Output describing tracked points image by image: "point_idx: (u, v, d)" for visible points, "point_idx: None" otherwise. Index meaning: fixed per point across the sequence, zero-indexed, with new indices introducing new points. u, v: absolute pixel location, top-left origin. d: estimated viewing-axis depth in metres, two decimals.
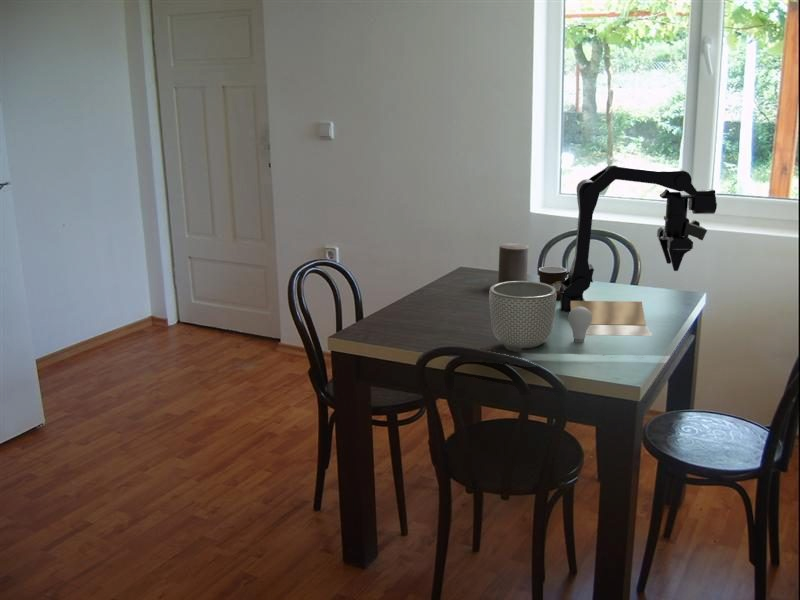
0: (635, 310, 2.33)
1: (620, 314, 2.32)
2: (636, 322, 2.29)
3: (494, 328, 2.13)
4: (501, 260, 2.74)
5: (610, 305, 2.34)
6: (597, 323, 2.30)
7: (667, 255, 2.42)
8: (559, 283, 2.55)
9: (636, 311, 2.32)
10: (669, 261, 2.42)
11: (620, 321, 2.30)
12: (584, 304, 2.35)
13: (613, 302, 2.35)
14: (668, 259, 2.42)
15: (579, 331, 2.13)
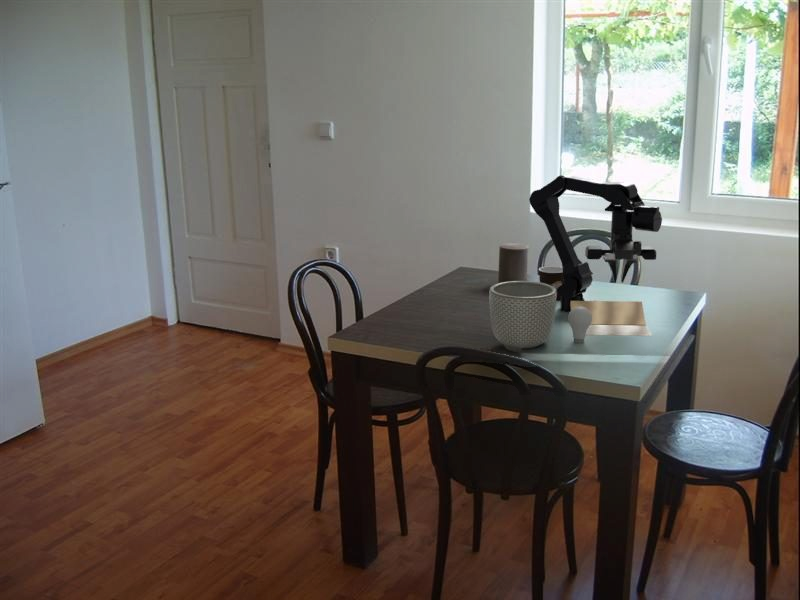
0: (635, 310, 2.33)
1: (620, 314, 2.32)
2: (636, 322, 2.29)
3: (494, 328, 2.13)
4: (501, 260, 2.74)
5: (610, 305, 2.34)
6: (597, 323, 2.30)
7: (621, 273, 2.33)
8: (559, 283, 2.55)
9: (636, 311, 2.32)
10: (621, 280, 2.32)
11: (620, 321, 2.30)
12: (584, 304, 2.35)
13: (613, 302, 2.35)
14: (621, 277, 2.33)
15: (579, 331, 2.13)
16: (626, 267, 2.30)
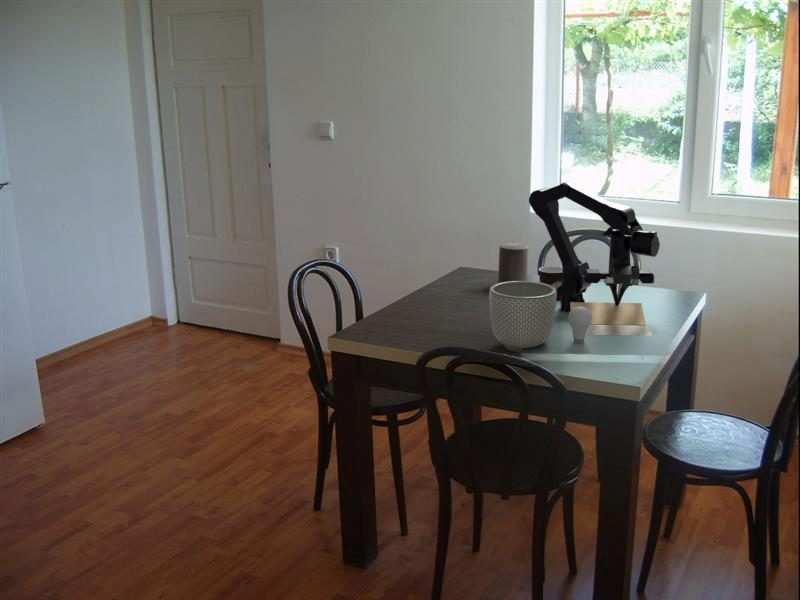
0: (634, 311, 2.33)
1: (620, 315, 2.32)
2: (636, 323, 2.29)
3: (494, 328, 2.13)
4: (501, 260, 2.74)
5: (610, 306, 2.35)
6: (597, 323, 2.30)
7: (617, 296, 2.35)
8: (559, 283, 2.55)
9: (635, 312, 2.32)
10: None
11: (620, 321, 2.30)
12: (584, 305, 2.36)
13: (613, 303, 2.36)
14: None
15: (579, 331, 2.13)
16: (622, 291, 2.32)
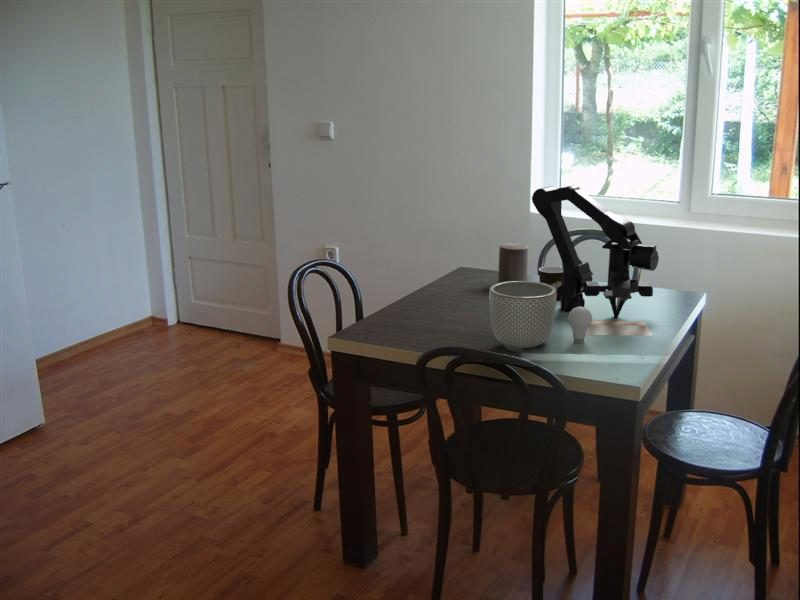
0: None
1: (619, 321, 2.33)
2: (635, 324, 2.29)
3: (494, 328, 2.13)
4: (501, 260, 2.74)
5: None
6: (597, 324, 2.30)
7: (616, 308, 2.36)
8: (559, 283, 2.55)
9: None
10: None
11: (620, 323, 2.30)
12: None
13: None
14: None
15: (579, 331, 2.13)
16: (621, 303, 2.34)
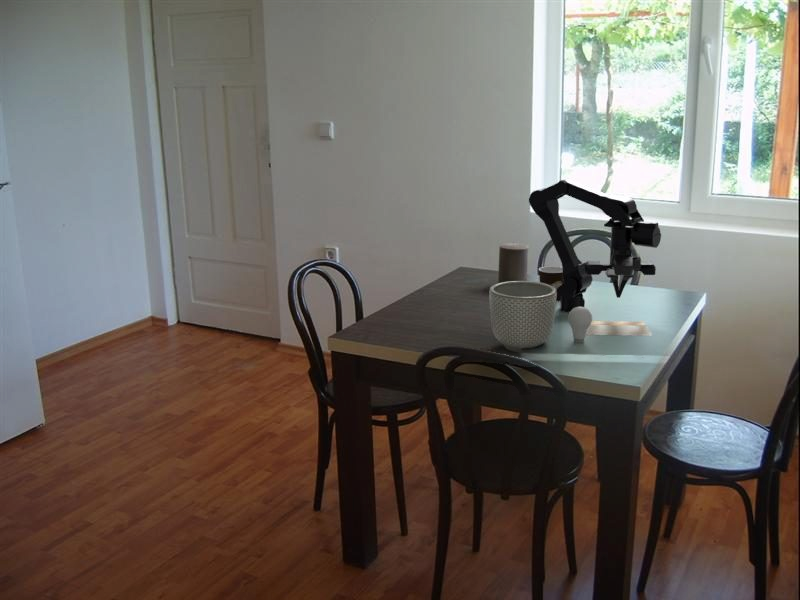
0: None
1: None
2: (635, 324, 2.29)
3: (494, 328, 2.13)
4: (501, 260, 2.74)
5: None
6: (597, 324, 2.30)
7: None
8: (559, 283, 2.55)
9: None
10: None
11: (620, 323, 2.30)
12: None
13: None
14: None
15: (579, 331, 2.13)
16: (623, 282, 2.31)
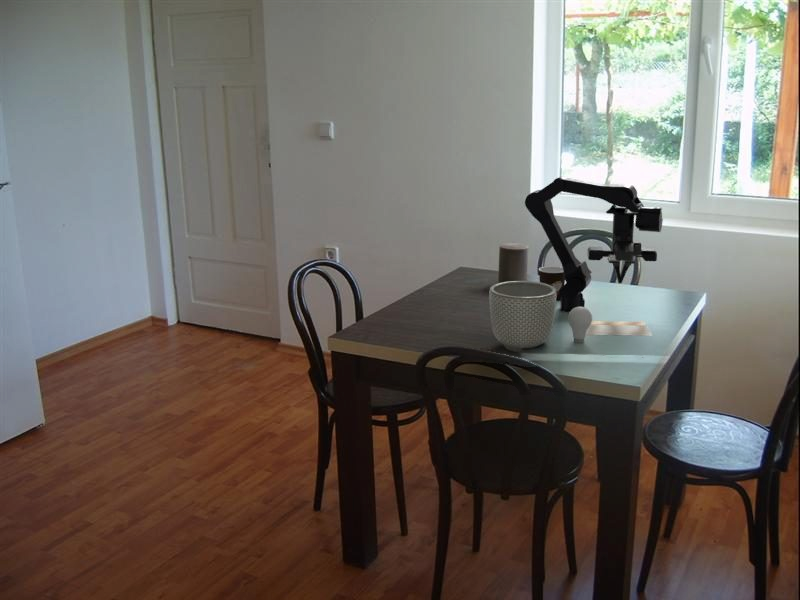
0: None
1: None
2: (635, 324, 2.29)
3: (494, 328, 2.13)
4: (501, 260, 2.74)
5: None
6: (597, 324, 2.30)
7: (620, 274, 2.36)
8: (559, 283, 2.55)
9: None
10: None
11: (620, 323, 2.30)
12: None
13: None
14: None
15: (579, 331, 2.13)
16: (625, 268, 2.33)
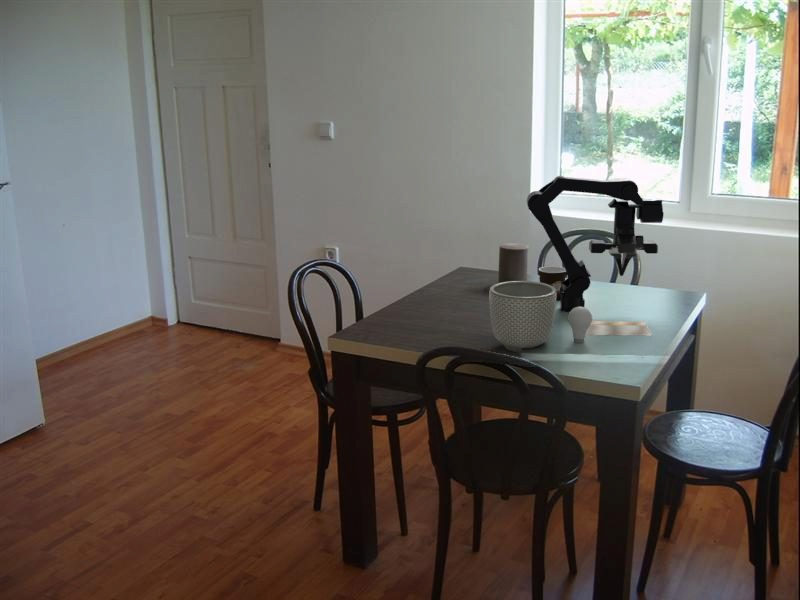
0: None
1: None
2: (635, 324, 2.29)
3: (494, 328, 2.13)
4: (501, 260, 2.74)
5: None
6: (597, 324, 2.30)
7: None
8: (559, 283, 2.55)
9: None
10: None
11: (620, 323, 2.30)
12: None
13: None
14: None
15: (579, 331, 2.13)
16: (626, 261, 2.38)
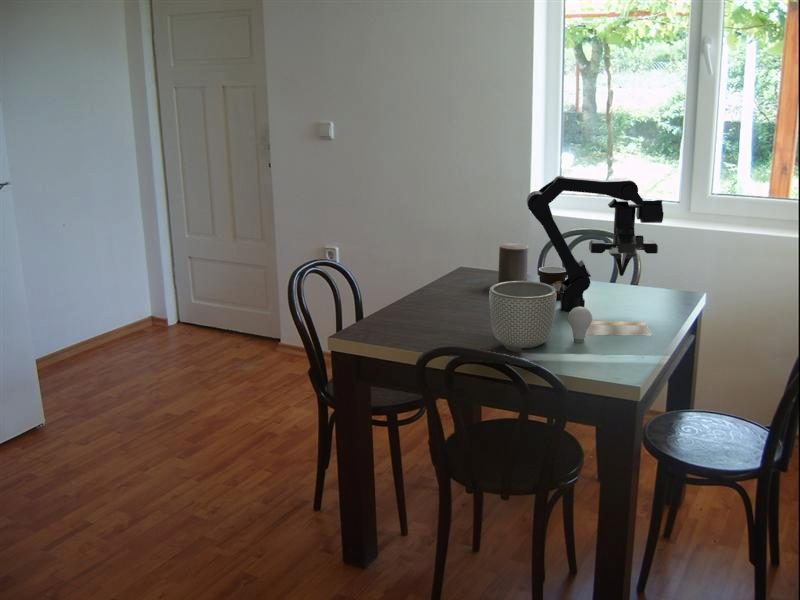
0: None
1: None
2: (635, 324, 2.29)
3: (494, 328, 2.13)
4: (501, 260, 2.74)
5: None
6: (597, 324, 2.30)
7: None
8: (559, 283, 2.55)
9: None
10: None
11: (620, 323, 2.30)
12: None
13: None
14: None
15: (579, 331, 2.13)
16: (626, 261, 2.38)
